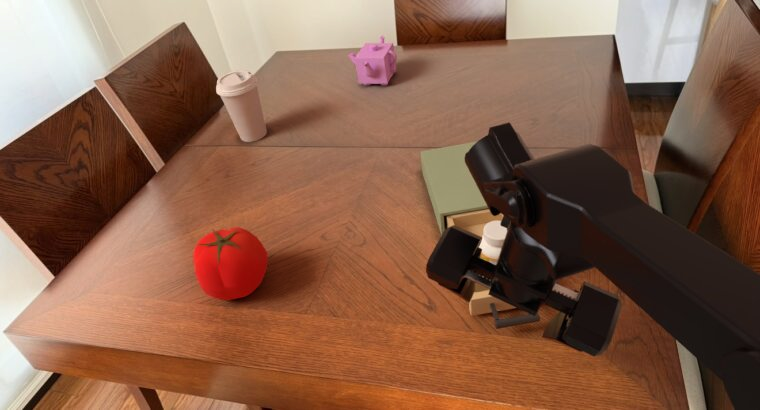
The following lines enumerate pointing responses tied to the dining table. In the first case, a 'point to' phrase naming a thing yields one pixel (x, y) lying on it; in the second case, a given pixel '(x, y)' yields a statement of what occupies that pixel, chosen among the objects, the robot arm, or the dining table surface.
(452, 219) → the drawer
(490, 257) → the supplement bottle
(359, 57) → the teapot
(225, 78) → the coffee cup
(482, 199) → the cabinet
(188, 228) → the dining table surface
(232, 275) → the tomato
